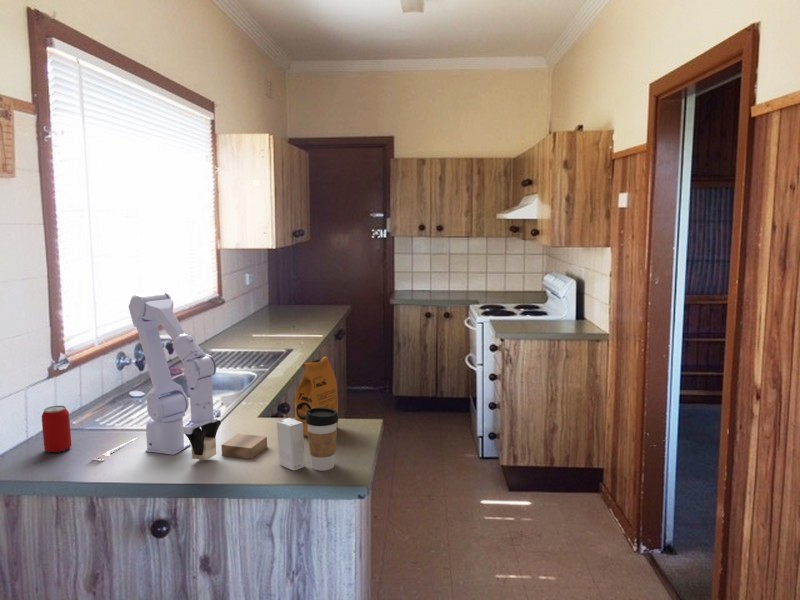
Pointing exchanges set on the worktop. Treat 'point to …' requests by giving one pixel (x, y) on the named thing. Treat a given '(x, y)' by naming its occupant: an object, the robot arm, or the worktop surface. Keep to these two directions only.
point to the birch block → (206, 449)
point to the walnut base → (244, 446)
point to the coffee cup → (322, 437)
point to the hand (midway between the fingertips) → (204, 451)
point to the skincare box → (291, 444)
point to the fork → (113, 450)
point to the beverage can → (56, 429)
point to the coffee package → (316, 390)
